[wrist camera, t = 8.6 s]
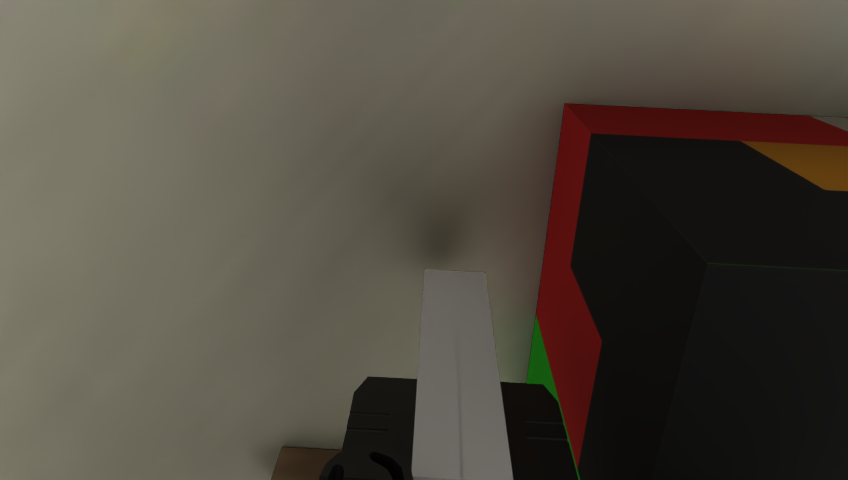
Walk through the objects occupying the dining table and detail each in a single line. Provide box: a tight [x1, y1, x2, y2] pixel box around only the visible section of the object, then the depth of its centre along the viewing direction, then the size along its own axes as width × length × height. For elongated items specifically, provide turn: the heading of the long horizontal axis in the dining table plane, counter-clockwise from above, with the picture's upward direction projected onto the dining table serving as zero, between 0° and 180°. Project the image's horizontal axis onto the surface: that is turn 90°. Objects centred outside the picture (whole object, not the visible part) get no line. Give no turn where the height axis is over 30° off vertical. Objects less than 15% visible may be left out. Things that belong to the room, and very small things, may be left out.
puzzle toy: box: [527, 104, 848, 480], centre depth 14 cm, size 10×10×10 cm
